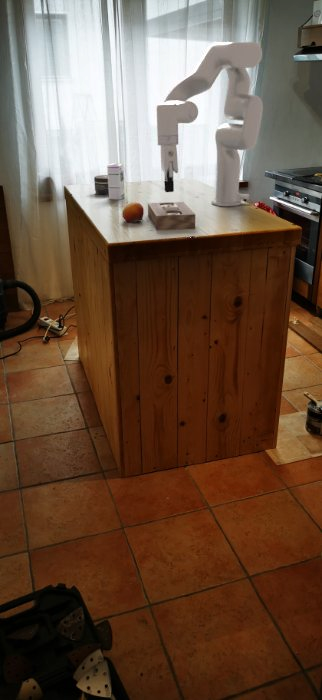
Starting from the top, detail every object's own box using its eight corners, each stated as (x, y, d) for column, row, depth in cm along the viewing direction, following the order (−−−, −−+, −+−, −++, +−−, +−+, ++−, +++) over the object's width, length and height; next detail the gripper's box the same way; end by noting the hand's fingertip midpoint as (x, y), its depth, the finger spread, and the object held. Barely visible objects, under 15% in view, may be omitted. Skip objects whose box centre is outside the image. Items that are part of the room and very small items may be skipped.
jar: (101, 190, 265) (101, 174, 262) (120, 192, 261) (119, 175, 258) (90, 194, 257) (89, 177, 254) (109, 196, 253) (109, 178, 250)
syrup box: (121, 199, 246) (120, 165, 240) (108, 199, 247) (106, 164, 241) (124, 197, 251) (123, 163, 245) (112, 196, 252) (110, 163, 246)
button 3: (178, 218, 204) (179, 212, 203) (181, 221, 200) (181, 214, 199) (166, 218, 203) (166, 212, 202) (168, 221, 199) (168, 215, 198)
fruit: (140, 221, 204) (130, 201, 203) (125, 230, 209) (115, 210, 208) (152, 217, 210) (142, 197, 209) (137, 225, 215) (128, 206, 214)
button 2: (175, 209, 209) (175, 203, 208) (177, 212, 205) (177, 206, 204) (163, 210, 209) (163, 204, 208) (165, 212, 205) (165, 206, 204)
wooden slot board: (183, 214, 219) (183, 201, 217) (195, 228, 200) (195, 214, 198) (148, 216, 217) (147, 203, 215) (156, 230, 198) (156, 215, 196)
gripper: (182, 142, 197) (182, 195, 205) (174, 137, 210) (175, 186, 218) (160, 143, 196) (162, 196, 204) (154, 138, 209) (156, 188, 217)
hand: (169, 191), depth 211 cm, fingers closed
